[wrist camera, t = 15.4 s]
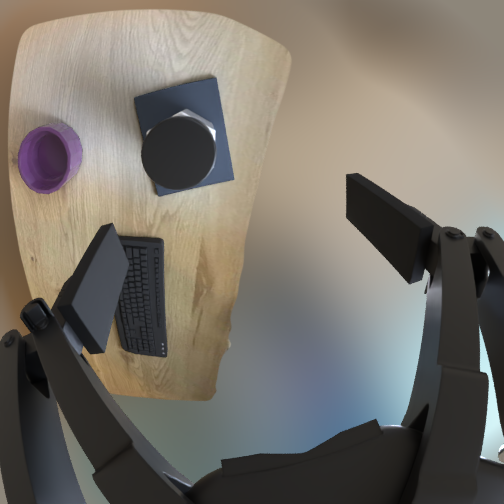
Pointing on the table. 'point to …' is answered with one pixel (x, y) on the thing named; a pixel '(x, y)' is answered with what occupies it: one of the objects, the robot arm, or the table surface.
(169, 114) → the placemat
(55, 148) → the bowl
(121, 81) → the table surface
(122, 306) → the keyboard
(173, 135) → the jar
